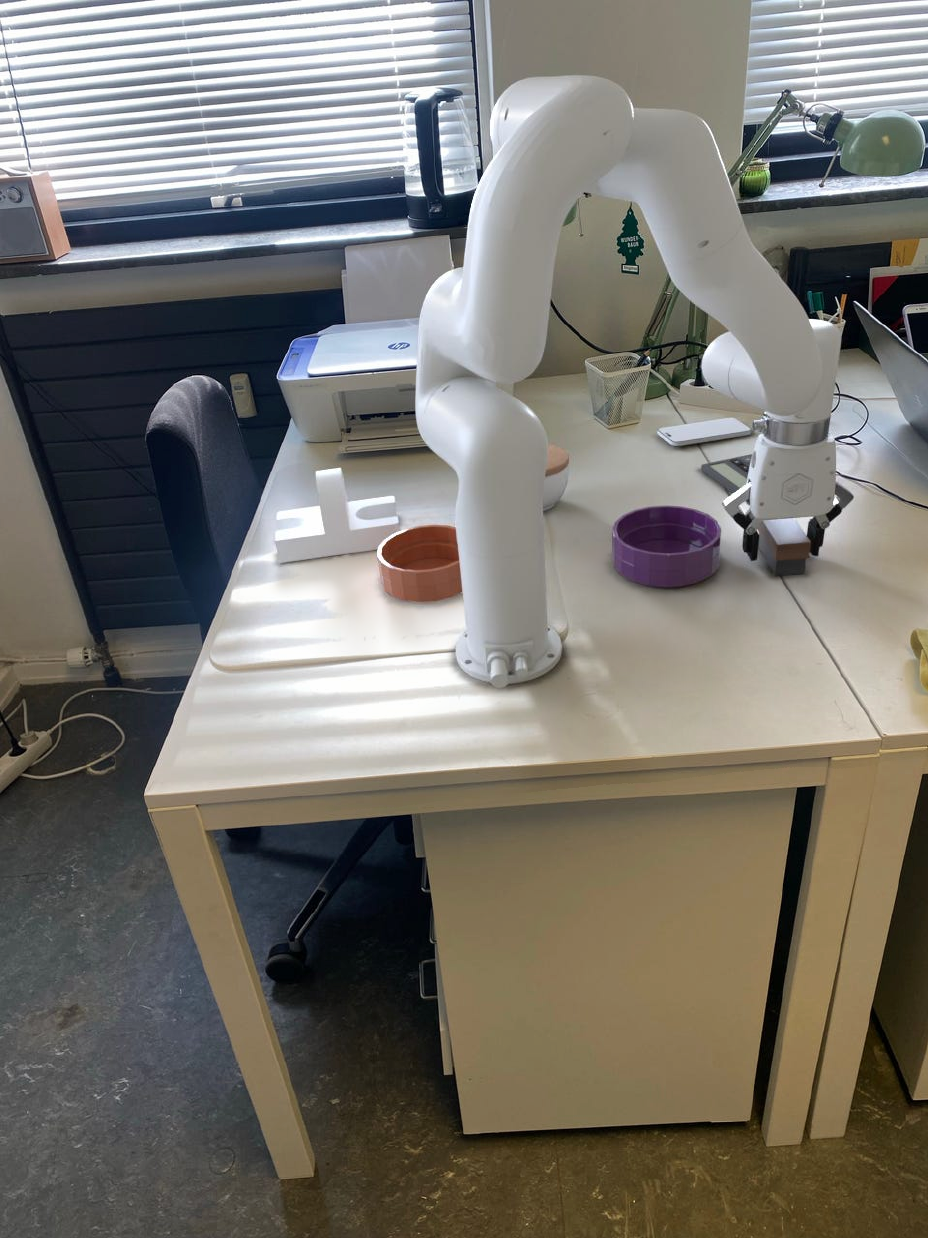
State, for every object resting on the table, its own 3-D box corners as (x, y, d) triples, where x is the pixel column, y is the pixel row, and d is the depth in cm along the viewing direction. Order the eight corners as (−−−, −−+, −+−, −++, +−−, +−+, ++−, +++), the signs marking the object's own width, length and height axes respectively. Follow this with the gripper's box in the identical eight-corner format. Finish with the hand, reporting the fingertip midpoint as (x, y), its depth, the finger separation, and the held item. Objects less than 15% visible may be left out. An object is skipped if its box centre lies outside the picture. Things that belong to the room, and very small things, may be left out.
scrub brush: (806, 575, 116) (811, 542, 114) (773, 577, 116) (777, 544, 114) (786, 543, 123) (790, 512, 121) (755, 546, 124) (758, 514, 121)
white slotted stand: (279, 563, 131) (264, 494, 125) (281, 533, 139) (267, 467, 133) (402, 545, 133) (392, 476, 127) (397, 517, 141) (387, 450, 135)
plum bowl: (730, 585, 116) (733, 550, 113) (620, 593, 116) (621, 558, 113) (705, 535, 127) (707, 501, 125) (606, 542, 128) (606, 509, 125)
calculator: (826, 472, 138) (738, 491, 136) (825, 478, 139) (738, 497, 136) (783, 446, 148) (700, 463, 145) (782, 451, 148) (700, 468, 146)
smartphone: (753, 430, 155) (673, 442, 153) (753, 436, 156) (673, 449, 153) (732, 416, 161) (655, 428, 159) (732, 422, 162) (655, 434, 159)
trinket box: (518, 485, 147) (515, 430, 142) (580, 493, 142) (579, 437, 137) (489, 513, 139) (485, 456, 134) (554, 523, 134) (552, 465, 129)
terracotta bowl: (478, 601, 118) (475, 567, 115) (378, 608, 118) (373, 575, 116) (477, 552, 129) (474, 521, 126) (385, 559, 129) (380, 528, 127)
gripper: (732, 444, 107) (721, 573, 117) (880, 432, 106) (858, 562, 116) (716, 421, 113) (708, 545, 123) (857, 409, 113) (837, 535, 122)
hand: (781, 552), depth 119 cm, fingers open, 7 cm apart
